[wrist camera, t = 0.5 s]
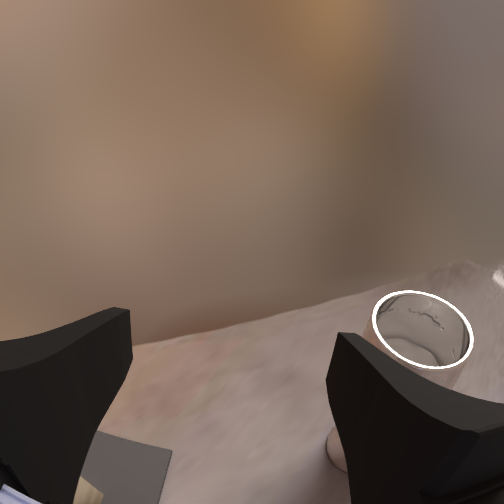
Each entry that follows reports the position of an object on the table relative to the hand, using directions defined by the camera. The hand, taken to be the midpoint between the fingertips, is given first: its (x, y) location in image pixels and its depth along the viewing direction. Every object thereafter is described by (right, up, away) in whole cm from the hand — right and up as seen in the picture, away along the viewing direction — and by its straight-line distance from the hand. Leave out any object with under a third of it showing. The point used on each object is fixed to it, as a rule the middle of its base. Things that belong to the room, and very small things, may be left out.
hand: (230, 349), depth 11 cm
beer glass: (+10, -14, +13) cm, 21 cm away
